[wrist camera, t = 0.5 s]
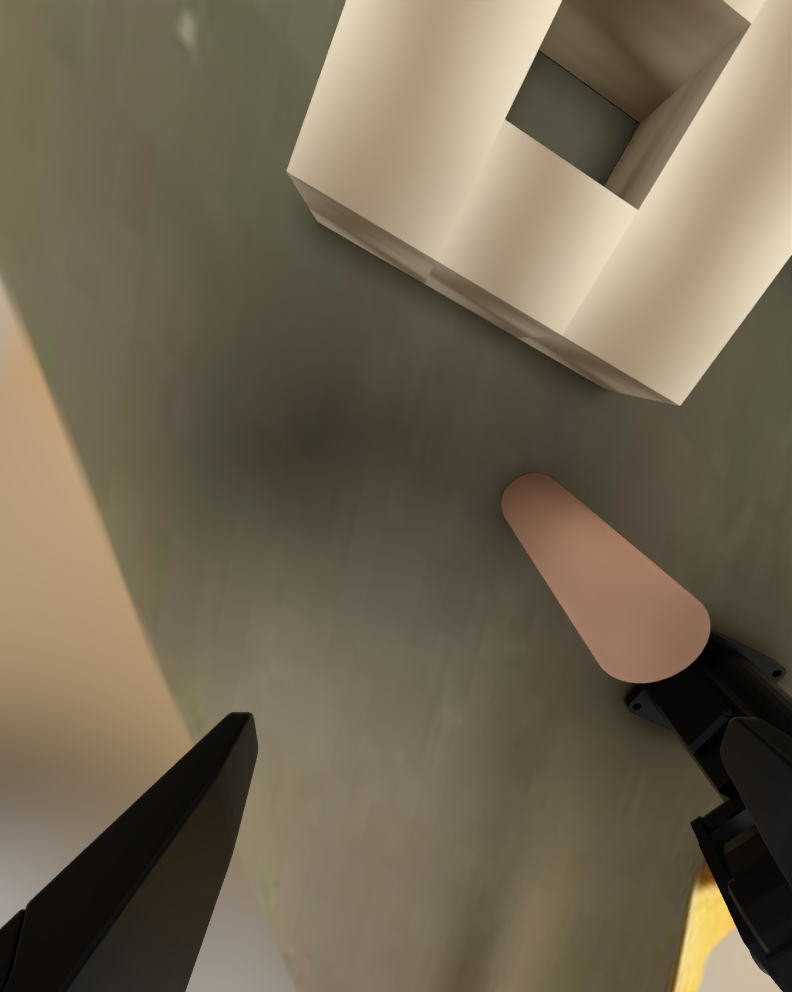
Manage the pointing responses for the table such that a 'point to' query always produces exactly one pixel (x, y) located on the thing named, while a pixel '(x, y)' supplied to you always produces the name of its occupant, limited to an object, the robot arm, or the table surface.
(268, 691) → the table surface
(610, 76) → the hole block
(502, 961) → the table surface
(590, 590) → the peg
